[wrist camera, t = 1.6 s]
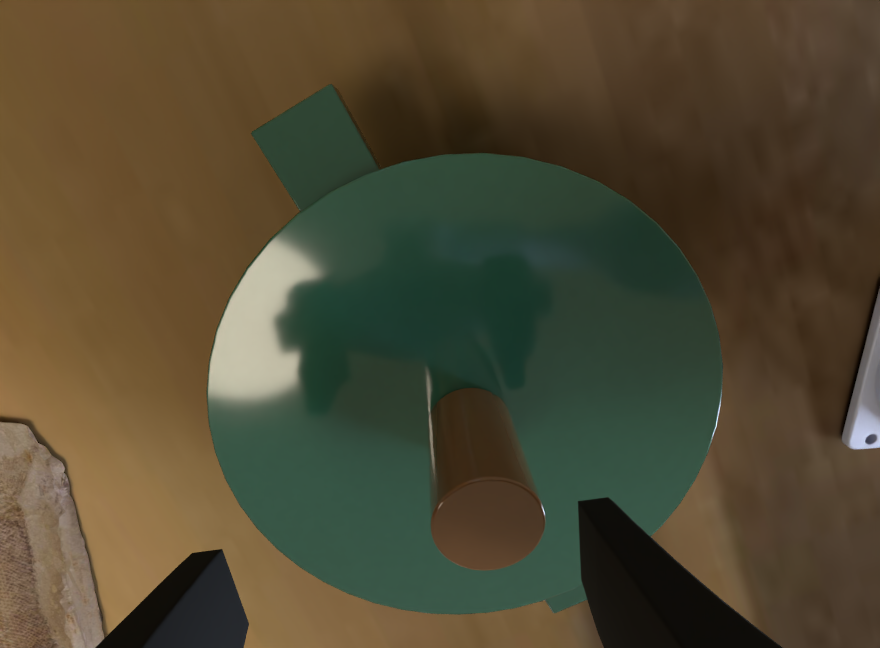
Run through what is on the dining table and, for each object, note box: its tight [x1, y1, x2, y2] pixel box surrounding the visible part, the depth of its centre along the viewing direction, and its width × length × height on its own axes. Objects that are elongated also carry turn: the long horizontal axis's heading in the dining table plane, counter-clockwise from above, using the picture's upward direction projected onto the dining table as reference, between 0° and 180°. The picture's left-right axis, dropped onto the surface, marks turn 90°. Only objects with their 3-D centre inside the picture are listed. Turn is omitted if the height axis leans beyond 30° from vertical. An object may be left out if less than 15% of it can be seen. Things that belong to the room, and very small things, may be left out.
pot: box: [251, 84, 587, 613], centre depth 17 cm, size 14×19×6 cm
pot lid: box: [207, 153, 723, 615], centre depth 12 cm, size 15×15×5 cm
